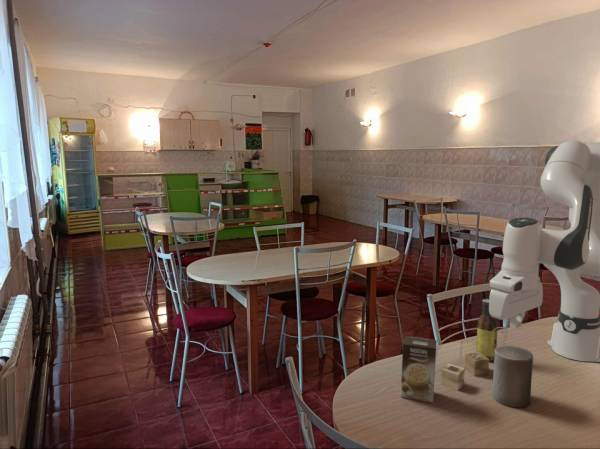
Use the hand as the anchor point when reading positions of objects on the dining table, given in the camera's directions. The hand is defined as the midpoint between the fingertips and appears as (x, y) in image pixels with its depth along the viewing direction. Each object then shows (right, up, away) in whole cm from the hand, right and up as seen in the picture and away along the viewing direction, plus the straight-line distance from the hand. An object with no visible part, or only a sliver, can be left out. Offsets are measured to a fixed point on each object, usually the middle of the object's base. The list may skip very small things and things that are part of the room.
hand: (515, 327), depth 119 cm
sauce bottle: (+4, -17, +28) cm, 33 cm away
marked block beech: (-14, -20, +11) cm, 26 cm away
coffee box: (-25, -21, +5) cm, 33 cm away
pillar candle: (0, -21, +3) cm, 21 cm away
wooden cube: (-3, -18, +19) cm, 26 cm away
